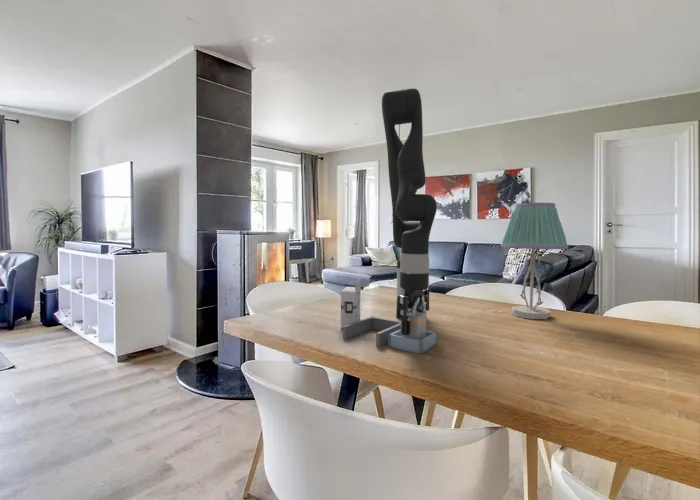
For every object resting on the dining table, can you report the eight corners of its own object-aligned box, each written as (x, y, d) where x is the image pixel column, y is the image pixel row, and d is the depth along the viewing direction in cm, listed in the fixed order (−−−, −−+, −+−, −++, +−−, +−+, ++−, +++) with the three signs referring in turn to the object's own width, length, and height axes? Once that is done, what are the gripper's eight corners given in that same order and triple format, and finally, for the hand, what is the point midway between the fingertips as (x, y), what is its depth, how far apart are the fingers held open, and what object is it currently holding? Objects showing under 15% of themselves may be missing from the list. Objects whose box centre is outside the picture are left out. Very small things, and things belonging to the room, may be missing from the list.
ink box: (345, 321, 125) (346, 277, 124) (360, 322, 124) (361, 277, 123) (340, 328, 116) (340, 281, 115) (355, 329, 115) (356, 281, 114)
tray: (405, 337, 107) (405, 326, 107) (437, 344, 101) (437, 332, 101) (388, 346, 99) (388, 334, 99) (421, 354, 94) (421, 341, 93)
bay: (371, 327, 118) (371, 316, 117) (405, 334, 111) (405, 322, 110) (343, 338, 106) (343, 326, 106) (379, 346, 99) (379, 333, 99)
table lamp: (578, 323, 125) (584, 202, 122) (512, 322, 125) (517, 201, 122) (545, 308, 146) (550, 205, 144) (489, 308, 146) (493, 204, 144)
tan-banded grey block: (409, 339, 104) (409, 310, 103) (426, 342, 101) (426, 313, 100) (400, 343, 100) (400, 313, 99) (417, 347, 97) (418, 316, 96)
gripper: (413, 267, 107) (412, 323, 108) (388, 271, 95) (387, 334, 97) (438, 269, 102) (437, 327, 104) (415, 274, 91) (413, 340, 92)
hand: (413, 331), depth 100 cm, fingers open, 8 cm apart
